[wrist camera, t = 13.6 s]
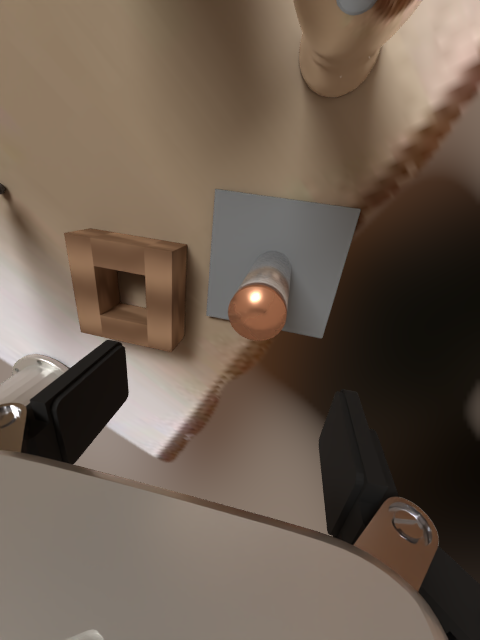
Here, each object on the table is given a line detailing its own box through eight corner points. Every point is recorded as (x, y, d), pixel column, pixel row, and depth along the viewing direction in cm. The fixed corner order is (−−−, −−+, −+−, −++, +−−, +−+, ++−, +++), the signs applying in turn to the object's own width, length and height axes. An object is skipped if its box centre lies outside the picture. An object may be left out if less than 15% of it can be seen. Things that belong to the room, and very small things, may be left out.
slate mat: (321, 336, 32) (322, 338, 31) (207, 313, 33) (206, 315, 33) (359, 208, 25) (360, 209, 25) (217, 189, 27) (215, 189, 27)
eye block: (184, 336, 36) (171, 352, 32) (101, 318, 37) (81, 332, 34) (186, 244, 30) (172, 251, 27) (90, 228, 32) (64, 233, 28)
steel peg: (294, 254, 28) (292, 292, 17) (287, 290, 30) (280, 345, 19) (256, 248, 28) (230, 281, 18) (251, 284, 30) (225, 334, 19)
